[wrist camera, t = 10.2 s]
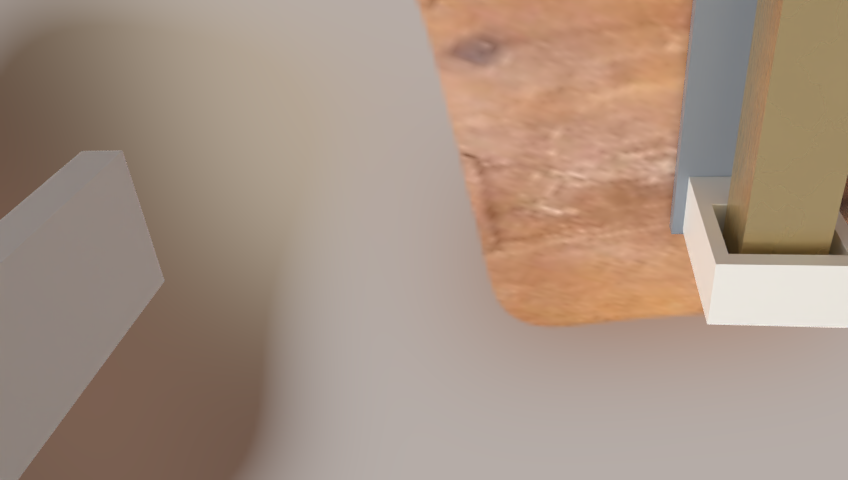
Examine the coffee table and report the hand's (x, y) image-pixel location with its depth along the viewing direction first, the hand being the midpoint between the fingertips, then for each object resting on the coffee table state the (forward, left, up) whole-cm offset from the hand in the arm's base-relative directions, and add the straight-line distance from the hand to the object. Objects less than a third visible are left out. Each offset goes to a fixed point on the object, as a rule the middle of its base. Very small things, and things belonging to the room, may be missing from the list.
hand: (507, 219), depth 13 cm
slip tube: (+11, +13, -30) cm, 34 cm away
